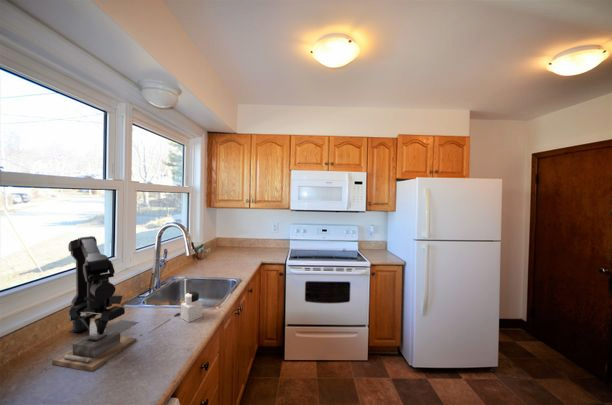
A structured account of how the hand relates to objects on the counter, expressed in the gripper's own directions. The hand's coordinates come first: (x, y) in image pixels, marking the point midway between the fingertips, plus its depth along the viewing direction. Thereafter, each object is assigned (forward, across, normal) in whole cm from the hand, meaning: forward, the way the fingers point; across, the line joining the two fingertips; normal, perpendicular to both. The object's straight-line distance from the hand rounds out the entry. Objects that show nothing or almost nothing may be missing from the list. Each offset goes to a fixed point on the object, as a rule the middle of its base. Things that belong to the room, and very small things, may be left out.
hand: (97, 333), depth 90 cm
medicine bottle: (+7, -17, -31) cm, 36 cm away
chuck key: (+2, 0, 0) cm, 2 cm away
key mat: (+7, +8, -16) cm, 19 cm away
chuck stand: (+7, 0, 0) cm, 7 cm away
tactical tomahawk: (+8, -10, -22) cm, 25 cm away
